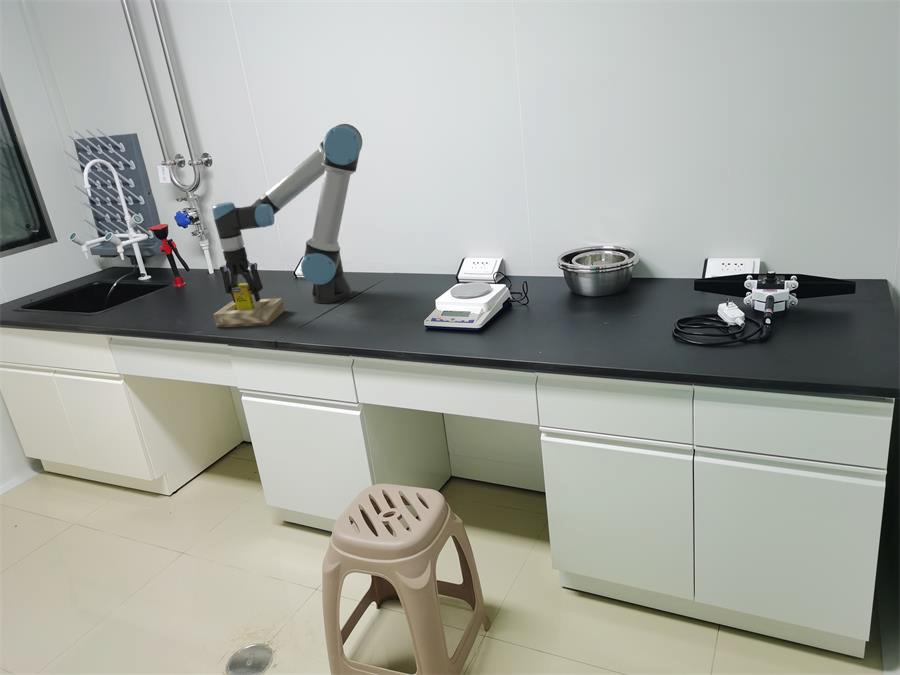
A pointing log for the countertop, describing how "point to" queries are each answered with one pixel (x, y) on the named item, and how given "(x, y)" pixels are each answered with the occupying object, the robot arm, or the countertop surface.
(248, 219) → the robot arm
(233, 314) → the wooden tray
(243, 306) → the supplement box
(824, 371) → the countertop surface
